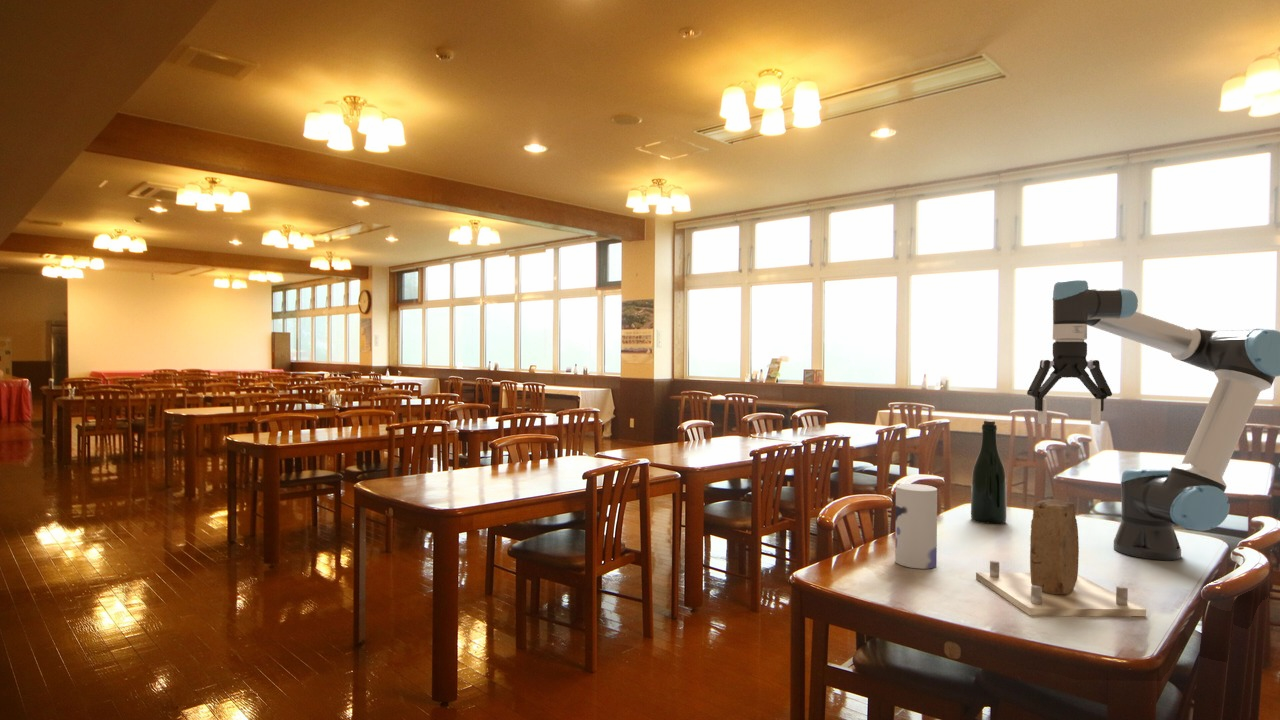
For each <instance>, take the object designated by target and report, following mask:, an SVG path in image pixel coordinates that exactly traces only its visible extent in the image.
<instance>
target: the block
mask: <svg viewBox="0 0 1280 720" xmlns="http://www.w3.org/2000/svg"><path fill="white" fill-rule="evenodd" d="M1032 513H1033V514H1032V519H1031V521H1030V522H1031V524H1030V537H1029V538H1030V539H1029V540H1030V544H1029V545H1030V548H1029V549H1030V551H1029V552H1030V553H1029V563H1030V564H1029V569H1030V572H1029V573H1031V584H1032V585H1036V586H1040V587H1042V592H1045V593H1050V594H1055V595H1067V594H1070V593H1071V592H1072V591H1073V589H1074V587H1075V583H1076V581H1077V576H1078V575H1079V556H1080V555H1079V554H1080V553H1079V552H1080V551H1079V549H1080V546H1079V545H1080V544H1079V530H1078V528H1079V526H1078V522H1077V521H1078V520H1077V516H1076V508H1075V504H1074V503H1073V502H1072V501H1069V500H1065V499H1064V500H1063V499H1053V498H1046V499H1041V500H1039V501H1037V502H1036V503H1035V504H1034V505H1033V506H1032Z"/></svg>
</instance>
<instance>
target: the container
mask: <svg viewBox="0 0 1280 720" xmlns="http://www.w3.org/2000/svg"><path fill="white" fill-rule="evenodd" d="M937 529H938V488H937V487H935V486H931V485H926V484H920V483H918V484H917V483H901V484H897V485H895V533H894V534H895V538H894V539H895V542H894V543H895V544H894V545H895V549H894V551H895V554H894V556H895V557H894V558H895V559H894V560H895V561H894V562H895V563H897V564H898V565H899V566H902V567H907V568H910V569H917V570H918V569H920V570H922V569H923V570H925V569H933V568H936V567H937V563H938V559H937V558H938V556H937V555H938V554H937V553H938V551H937V550H938V548H937V547H938V541H937V540H938V538H937V537H938V534H937V533H938V530H937Z"/></svg>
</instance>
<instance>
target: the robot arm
mask: <svg viewBox="0 0 1280 720" xmlns="http://www.w3.org/2000/svg"><path fill="white" fill-rule="evenodd" d="M1138 300H1139V299H1138V296H1137V294H1136V293H1135V292H1134V290H1132V289H1126V288H1090V287H1089V284H1088V281H1087V280H1082V279H1070V280H1069V279H1068V280H1060V281H1057V282H1055V283H1054V285H1053V293H1052V340H1054V342H1053V343H1052V356H1053V357H1052V360H1049V359H1042V360H1041V359H1040V362H1039V368H1038V370H1037V372H1036V374H1035V376H1034V378H1033V380H1032V382H1031V383H1030V386H1029V388H1028V389H1027V391H1026V394H1027V395H1028V396H1031V397H1032V398H1033V399H1034V410H1035V411H1037V424H1040V425H1048V424H1047V422H1048V420H1047V419H1048V418H1047V417H1048V399H1047V398H1044V397H1046V396H1047V394H1048V393H1049V391H1050V390H1052V388H1053V387H1054V386H1055V385H1056V383H1057V382H1058V381H1059V380H1061V379H1062V378H1077V379H1079V381H1080V382H1081V383H1082V384H1083V385H1084V386H1085V388H1086V389H1087V390H1088V391H1089V392H1090V394H1091V395H1092V396H1093V397H1094V398H1090V424H1091V425H1098V426H1099V425H1100V426H1101V423H1102V420H1101V418H1102V417H1101V415H1102V412H1104V409H1105V408H1104V407H1105V406H1104V405H1105V403H1104V402H1105V400H1106V399H1107V398H1108V397H1112V395H1113V392H1112V390H1111V388H1110V386H1109V384H1108V382H1107V380H1106V378H1105V376H1104V374H1103V371H1102V370H1101V366H1100V361H1099V360H1098V359H1090V360H1087V356H1088V343H1087V341H1085V340H1087V339H1088V326H1089V327H1092V328H1095V329H1098V330H1101V331H1104V332H1106V333H1110V334H1113V335H1116V336H1119V337H1120V338H1125V339H1128V340H1130V341H1134V342H1135V343H1139V344H1141V345H1142V344H1143V345H1145V346H1149V347H1152V348H1154V349H1157V350H1160V351H1163V352H1165V353H1169V354H1170V355H1171V357H1172V358H1173V359H1174V360H1178V361H1180V362H1183V363H1186V364H1189V365H1191V366H1194V367H1196V368H1197V367H1198V368H1200V369H1203V370H1206V371H1209V372H1213V373H1214V375H1215V377H1216V378H1217V379H1218V381H1217V383H1216V386H1215V388H1214V390H1213V392H1212V395H1210V396H1211V397H1210V399H1209V401H1208V404H1207V405H1206V408H1205V411H1203V415H1202V417H1201V420H1200V422H1199V424H1198V426H1197V428H1196V431H1195V432H1194V433H1195V434H1194V435H1193V437H1192V439H1191V442H1190V444H1189V446H1188V449H1187V451H1186V452H1185V453H1186V454H1185V455H1184V458H1183V460H1182V463H1180V464H1178V465H1174V466H1172V467H1171V469H1170V470H1169V469H1146V468H1145V469H1137V468H1135V469H1134V468H1133V469H1125V470H1123V472H1122V474H1121V475H1122V476H1121V481H1120V485H1121V512H1120V513H1121V516H1120V517H1121V519H1120V524H1119V527H1118V529H1117V532H1116V533H1115V537H1114V538H1113V550H1115V551H1117V552H1119V553H1121V554H1125V555H1128V556H1132V557H1136V558H1142V559H1147V560H1148V559H1149V560H1158V561H1176V560H1180V559H1182V548H1181V545H1180V542H1179V539H1178V537H1177V534H1176V531H1175V530H1174V529H1175V528H1174V525H1176V526H1179V527H1182V528H1183V529H1188V530H1194V531H1209V530H1211V529H1216V528H1217V527H1219V526H1220V525H1221V524H1222V523H1223V522H1225V520H1226V519H1227V517H1228V515H1229V513H1230V507H1231V506H1230V505H1231V504H1230V503H1229V497H1228V495H1227V494H1226V493H1225V491H1226V489H1227V484H1226V482H1225V481H1224V479H1223V477H1224V475H1225V473H1226V471H1227V470H1226V469H1227V467H1228V465H1229V463H1230V461H1231V458H1232V456H1233V455H1234V451H1235V450H1236V448H1237V445H1238V442H1239V441H1240V438H1241V436H1242V433H1243V431H1244V429H1245V427H1246V425H1247V422H1248V421H1249V418H1250V415H1251V414H1252V411H1253V409H1254V407H1255V405H1256V402H1257V400H1258V398H1259V396H1260V393H1261V392H1263V391H1266V390H1268V389H1271V387H1272V386H1273V384H1274V381H1275V379H1276V377H1280V331H1279V330H1275V329H1267V328H1266V329H1264V328H1253V329H1241V330H1240V329H1239V330H1238V329H1237V330H1207V329H1201V328H1198V327H1195V326H1187V327H1183V326H1180V325H1177V324H1174V323H1171V322H1168V321H1165V320H1162V319H1159V318H1156V317H1153V316H1150V315H1146V314H1145V313H1141V312H1139V311H1137V309H1138V307H1139V305H1138V303H1139V301H1138ZM1051 368H1053V371H1052V372H1051V373H1050V374H1049V377H1048V378H1047V379H1046V377H1047V375H1048V373H1049V371H1050V369H1051ZM1087 368H1088V370H1089V371H1090V374H1091V376H1092V378H1093V379H1091V377H1090V374H1089V373H1088V372H1087V371H1086V369H1087ZM1045 379H1046V380H1045Z"/></svg>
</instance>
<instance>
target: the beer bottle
mask: <svg viewBox="0 0 1280 720" xmlns="http://www.w3.org/2000/svg"><path fill="white" fill-rule="evenodd" d="M997 431H998V427H997V425H996V421H995V420H983V423H982V425H981V443H980V445H981V446H980V449H979V453H978V455H977V457H976V460H975V462H974V464H973V468H972V473H971V474H972V475H971V489H970V490H971V492H970V493H971V494H970V495H971V497H970V518H971V520H973V521H974V522H977V523H982V524H989V525H999V524H1000V525H1001V524H1002V525H1003V524H1005V523H1006V522H1007V479H1006V478H1007V475H1006V474H1007V472H1006V471H1005V470H1006V469H1005V465H1004V464H1003V461H1002V459H1001V455H1000V453H999V452H1000V451H999V449H998V442H997V441H998V440H997V438H998V437H997Z"/></svg>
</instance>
